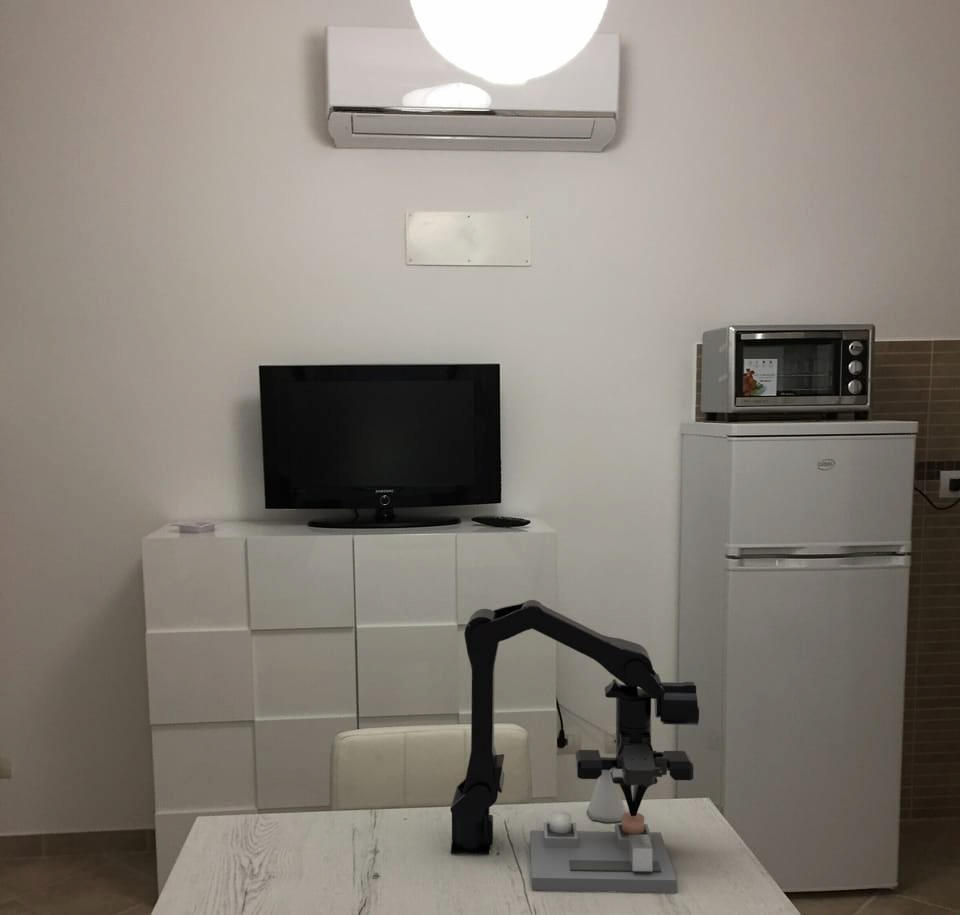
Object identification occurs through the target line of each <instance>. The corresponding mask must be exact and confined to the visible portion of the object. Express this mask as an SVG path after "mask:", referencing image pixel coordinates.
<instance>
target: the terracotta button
mask: <svg viewBox="0 0 960 915" xmlns="http://www.w3.org/2000/svg"><path fill="white" fill-rule="evenodd" d="M621 823H622V829H623V831H625V832H626V833H629V834H640V833H642V832H644V824H645V816H644V815H643V814H641V813H639V812H637V814H636V816H631V815H630V811H628V812H626V813H624V814H623V815H622V821H621Z"/></svg>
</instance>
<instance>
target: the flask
mask: <svg viewBox="0 0 960 915" xmlns="http://www.w3.org/2000/svg"><path fill="white" fill-rule="evenodd" d="M596 781H597V782H596V785H595V788H594V790H593V793H592V795H591V798H590V800H589V803H588V807H587V809H586V814H587V815H588V816H589V818H590V820H592V821H597V822H602V823H606V824H607V823H618V822H622V815H623V814H624V813H627V812H626V808H625V806H624V802H623V800H622V797H621V795H620V791H619V787H618V785H617V784H615V783H613V782H612V778H611V775H610V771H609V770H602V775H601V776H600V777H599V778H598V779H597V780H596Z"/></svg>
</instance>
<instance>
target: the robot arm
mask: <svg viewBox="0 0 960 915" xmlns="http://www.w3.org/2000/svg"><path fill="white" fill-rule="evenodd" d="M529 630H534V631H536V632H538V633H540V634H542V635H544V636H546V637H547V638H550V639H552V640H554V641H556V642H559V643H561V644H562V645H564V646H565V647H566V646H567V647H568V648H571V649H572V650H574V651H576V652H578V653H580V654H582V655H584V656H586V657H588V658H590V659H592V660H594V661H595V662H597V663H598V664H599V665H600V666H601V667H603V669H605V670H606V671H607V672H608V673H609V674H610V675H612V676H613V677H615V678H613V679H612V680H611V682H610V683H608V685H606V686H605V687H604V694H605V695H604V697H606V698H610V699H615V757H601V754H600V750H599V749H578V750H577V751H576V752H575V756H574V757H575V760H574V761H575V770H576V776H577V778H578V779H580V780H598V778H599V777H600V776H601V775H602V770H609V771H610V775H611V778H612V782H613V783H615V784H616V785H617V784H618V785H619V786H620V788H621V790H622V793H623V795H624V798H625V802H626V804H627V807H628V810H629V811H628V812H630V815H631V816H636V814H637V813H639V808H640V806H641V803H642V801H643V798H644V796H645V794H646V791H647V790H648V788H649V787H651V786H653V785H657V784H658V783H659V782H658V781H659V780H658V778H662V776H667V772H668V773H669V776H670V777H671V778H672V779H673V780H674V781H692V780H694V764H693V762H692V760H691V757H690V755H689V754H688V753H687V751H685V750H664V751H657V750H654V749H653V746H652V699H653V702H654V703H653V704H654V705H653V706H654V710H653V711H654V716H655V719H657V718H658V719H659V722H661V724H662V725H667V726H668V725H669V726H671V725H672V726H676V725H677V726H680V725H681V726H698V725H699V722H700V708H699V704H698V695H697V685H696V683H695V681H683V682H664V681H663V682H662V681H661V677H660V675H659V674H658V673H657V672H656V671H655V669H654V668H653V667H654V666H653V664H652V661H651V660H652V659H651V658H650V655H649V653H648V650H647V649H646V648H645V647H644V646H643V645H641V644H639V643H636V642H633V641H629V640H626V639H624V638H623V639H622V638H620V637H612V636H607V635H604V634H601V633H599V632H597V631H596V630H593V629H591V628H589V627H588V626H585V625H583V624H582V623H579V622H578V621H575V620H573V619H571V618H570V617H567V616H565V615H564V614H561V613H559V612H557V611H555V610H553V609H551V608H549V607H547V606H545V605H543V604H542V603H541V602H540V601H538V600H535V599H529V600H527V601H525V602H524V601H523V602H521V603H516V604H512V605H508V606H502V607H500V608H497V609H493V610H492V609H490V608H480V609H478V610H476V611H475V612H473V613H472V614H471V616H470V618H469V620H468V621H467V624H466V626H465V630H464V642H465V647H466V651H467V653H466V654H467V656H468V657H467V658H468V661H469V665H470V668H471V669H470V670H471V712H470V713H471V716H470V717H471V719H470V720H471V723H470V724H471V725H470V726H471V728H470V729H471V730H470V731H471V732H470V737H471V738H470V739H471V740H470V741H471V742H470V743H471V744H470V745H471V746H470V748H471V749H470V755H469V760H468V765H467V770H466V773H465V774H466V775H465V778H464V779H463V780H462V781H461V782H460V783H459V784H458V785H457V786H456V788H455V791H454V795H453V799H452V802H451V806H450V810H449V811H450V813H451V843H450V844H451V845H450V849H449V850H450V854H451V855H490V853H491V847H492V846H493V844H494V815H492V814H490V808H491V807H492V806H493V805H494V804H496V802H497V801H498V795H499V793H502V792H503V788H504V782H505V777H506V776H505V773H504V768H503V765H504V759H505V754H503V753H501V754H497V751H496V747H495V681H496V680H495V679H496V678H495V676H496V675H495V671H496V670H495V669H496V668H495V666H496V661H497V654H498V650H499V646H500V642H502V641H505V640H509V639H511V638H513V637H515V636H517V635H519V634H522V633H524V632H526V631H529ZM617 680H618V681H619V682H618V681H617ZM620 682H621V683H620ZM632 787H633V789H632ZM632 790H633V791H632Z"/></svg>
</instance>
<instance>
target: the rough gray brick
mask: <svg viewBox="0 0 960 915" xmlns="http://www.w3.org/2000/svg"><path fill="white" fill-rule="evenodd" d="M629 859H630V863H631V867H632V871H652V845H651V842H650V839H649V836H648V835H640V834H629Z"/></svg>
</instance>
